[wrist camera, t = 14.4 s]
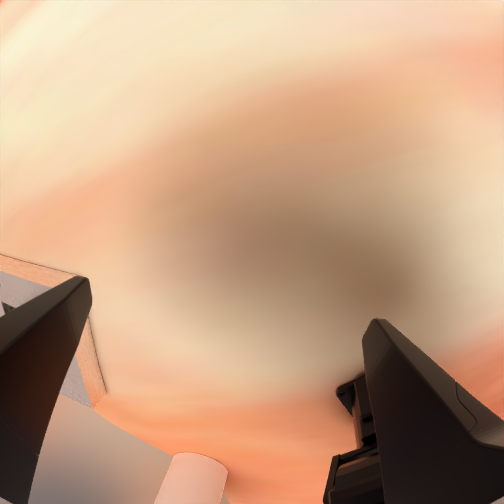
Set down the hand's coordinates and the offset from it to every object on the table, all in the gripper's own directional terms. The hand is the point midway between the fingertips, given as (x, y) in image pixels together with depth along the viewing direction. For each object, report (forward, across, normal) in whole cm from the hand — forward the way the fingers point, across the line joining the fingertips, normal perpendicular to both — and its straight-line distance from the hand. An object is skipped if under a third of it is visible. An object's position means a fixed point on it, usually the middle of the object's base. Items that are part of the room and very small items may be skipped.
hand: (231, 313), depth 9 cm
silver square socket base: (+12, +19, +17) cm, 28 cm away
